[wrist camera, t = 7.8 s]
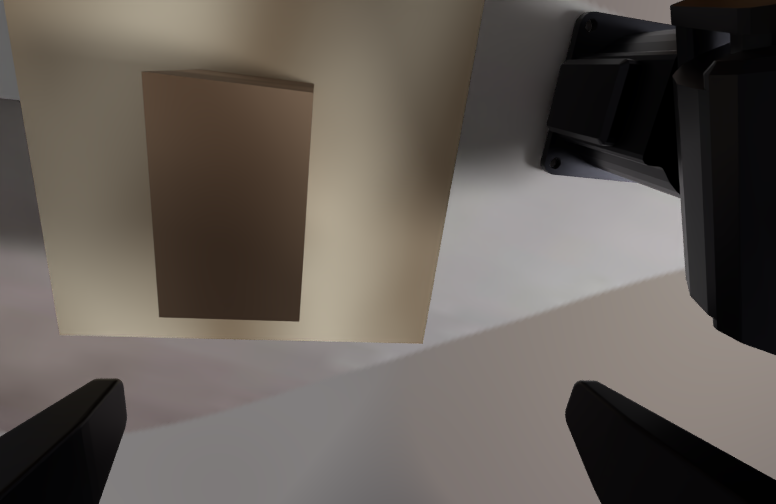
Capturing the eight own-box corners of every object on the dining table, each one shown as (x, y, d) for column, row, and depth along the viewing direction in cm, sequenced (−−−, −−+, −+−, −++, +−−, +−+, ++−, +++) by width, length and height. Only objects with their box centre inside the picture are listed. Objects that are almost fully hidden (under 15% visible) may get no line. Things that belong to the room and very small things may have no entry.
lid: (478, -25, 13) (580, -82, 8) (416, 328, 17) (458, 436, 12) (10, -112, 11) (-258, -267, 6) (75, 318, 15) (-44, 444, 10)
